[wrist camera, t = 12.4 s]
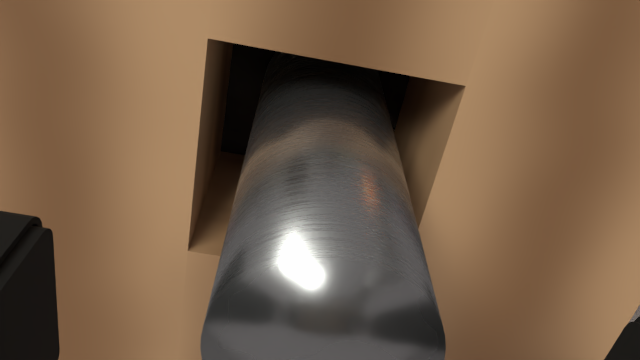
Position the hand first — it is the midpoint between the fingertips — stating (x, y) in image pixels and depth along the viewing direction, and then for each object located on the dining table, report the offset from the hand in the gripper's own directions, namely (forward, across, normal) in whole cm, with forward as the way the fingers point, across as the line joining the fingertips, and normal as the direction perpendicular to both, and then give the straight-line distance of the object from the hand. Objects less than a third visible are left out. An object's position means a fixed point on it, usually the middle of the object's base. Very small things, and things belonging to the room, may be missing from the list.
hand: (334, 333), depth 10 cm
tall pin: (+12, 0, 0) cm, 12 cm away
